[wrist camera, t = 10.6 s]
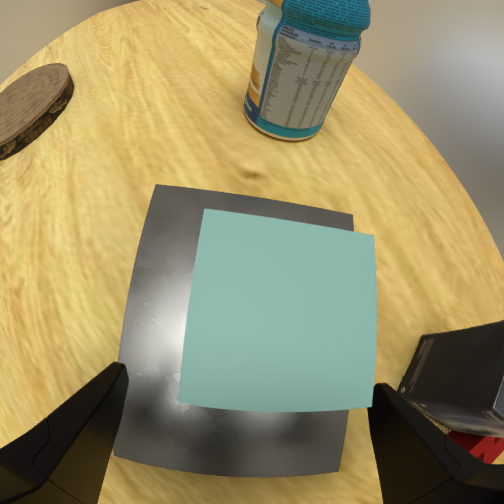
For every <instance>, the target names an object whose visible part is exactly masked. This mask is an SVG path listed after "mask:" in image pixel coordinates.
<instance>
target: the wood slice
mask: <svg viewBox="0 0 504 504" xmlns="http://www.w3.org/2000/svg"><path fill="white" fill-rule="evenodd" d="M73 90H74V84H73V81H72V79H71V76H70V73H69V70H68V68H67V66H66V65H64V64H61V63H54V64H48V65H45V66H42V67H39V68H36V69H34V70H32V71H30V72H28V73H26V74H25V75H23V76H21V77H20V78H18V79H17V80H16V81H14V82H13V83H11V84H10V85H9V86H8V87H7V88H5V89H4V90H3V91H2V92H1V93H0V161H2V160H5V159H7V158H9V157H11V156H12V155H14V154H16V153H18V152H20V151H21V150H22V149H24V148H25V147H26V146H28V145H29V144H30V143H32V142H33V141H34V140H36V139H37V138H38V137H39V136H40V135H41V134H42V133H43V132H44V131H45V130H46V129H47V128H49V127H50V126H51V125H52V124H53V123H54V121H55V120H56V119H57V118H58V116H59V115H60V114H61V113H62V112H63V111H64V109H65V108H66V106H67V104H68V103H69V101H70V99H71V97H72V95H73Z"/></svg>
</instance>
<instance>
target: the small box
mask: <svg viewBox="0 0 504 504" xmlns="http://www.w3.org/2000/svg"><path fill="white" fill-rule="evenodd" d="M397 393H399V394H400V395H401V396H402V397H403V398H404V399H405V400H407V401H408V402H409V403H410V404H411V405H412V406H414V407H415V408H416V409H417V410H418V411H420V412H422V413H423V414H425V415H427V416H428V417H430V418H432V419H433V420H435V421H437V422H439V423H440V424H442V425H444V426H446V427H447V428H449V429H451V430H453V431H458V432H464V433H469V434H476V435H483V436H491V437H499V438H504V320H502V321H499V322H494V323H489V324H484V325H481V326H476V327H471V328H467V329H461V330H455V331H449V332H442V333H434V334H425V335H423V337H422V339H421V342H420V345H419V347H418V349H417V352H416V354H415V356H414V359H413V361H412V363H411V365H410V367H409V369H408V371H407V373H406V375H405V377H404V379H403V381H402V383H401V385H400V387H399V390H398V392H397Z"/></svg>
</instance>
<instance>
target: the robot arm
mask: <svg viewBox="0 0 504 504" xmlns="http://www.w3.org/2000/svg"><path fill="white" fill-rule="evenodd" d="M128 385H129V377H128V372H127V368H126V365H125V364H124V363H120V362H113V363H111V364H110V365H109V366H108V367H106V368H105V369H104V370H103V371H102V372H100V373H99V374H98V375H97V376H96V377H94V378H93V379H92V380H91V381H89V382H88V383H87V384H86V385H85V386H83V387H82V388H81V389H80V390H79V391H77V392H76V393H75V394H74V395H72V396H71V397H70V398H69V399H68V400H66V401H65V402H64V403H63V404H62V405H60V406H59V407H58V408H57V409H55V410H54V411H53V412H52V413H51V414H49V415H48V416H47V417H46V418H44V419H43V420H42V421H41V422H40V423H38V424H37V425H36V426H34V427H33V428H32V429H31V430H29V431H28V432H26V433H25V434H23V435H22V436H20V437H19V438H17V439H15V440H14V441H12V442H10V443H9V444H7V445H6V446H4V447H2V448H1V449H0V504H97V503H98V499H99V495H100V491H101V487H102V484H103V480H104V476H105V473H106V469H107V465H108V462H109V459H110V455H111V452H112V448H113V445H114V442H115V439H116V436H117V432H118V429H119V426H120V423H121V419H122V414H123V409H124V404H125V399H126V394H127V390H128ZM367 410H368V419H369V428H370V435H371V440H372V444H373V449H374V454H375V459H376V464H377V469H378V474H379V480H380V486H381V491H382V498H383V504H504V464H488V463H485V462H483V461H481V460H480V459H478V458H477V457H475V456H474V455H472V454H471V453H469V452H468V451H466V450H465V449H464V448H462V447H461V446H459V445H458V444H457V443H456V442H454V441H453V440H452V439H451V438H449V437H448V436H447V435H446V434H444V432H442V431H441V430H440V429H439V428H438V427H437V426H435V425H434V424H433V423H432V422H431V421H430V420H429V419H427V418H426V417H425V416H424V415H423V414H422V413H420V412H419V411H418V410H417V409H416V408H415V407H414V406H412V405H411V404H410V403H409V402H408V401H407V400H405V399H404V398H403V397H402V396H401V395H400V394H399V393H397V392H396V391H395V390H394V389H393V388H392V387H391V386H389V385H388V384H387V383H377V384H375V386H374V388H373V398H372V407H367Z"/></svg>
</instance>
